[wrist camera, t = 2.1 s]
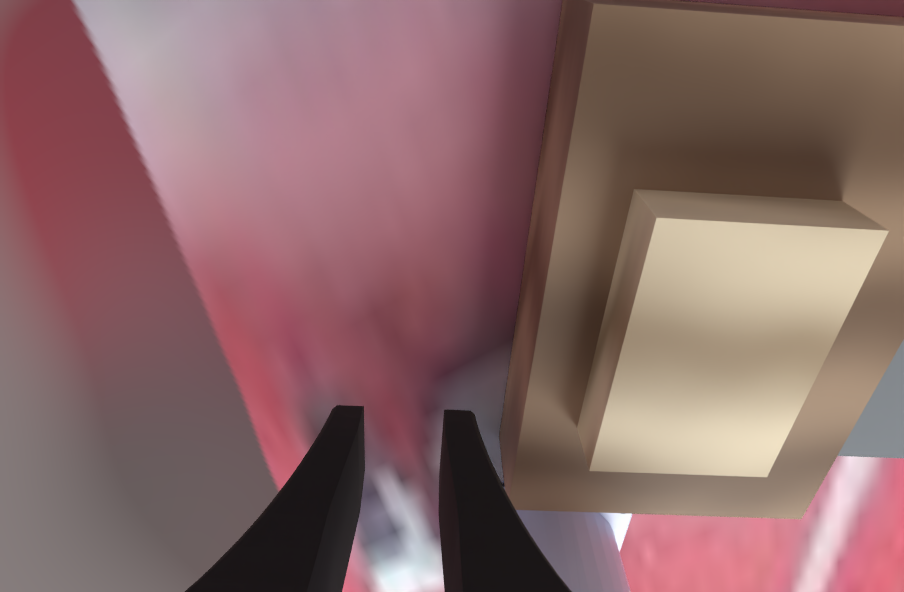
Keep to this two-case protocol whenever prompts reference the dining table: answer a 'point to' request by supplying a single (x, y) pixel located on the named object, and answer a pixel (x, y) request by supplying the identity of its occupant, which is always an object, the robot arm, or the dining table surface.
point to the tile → (718, 328)
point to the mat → (881, 417)
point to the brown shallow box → (701, 171)
